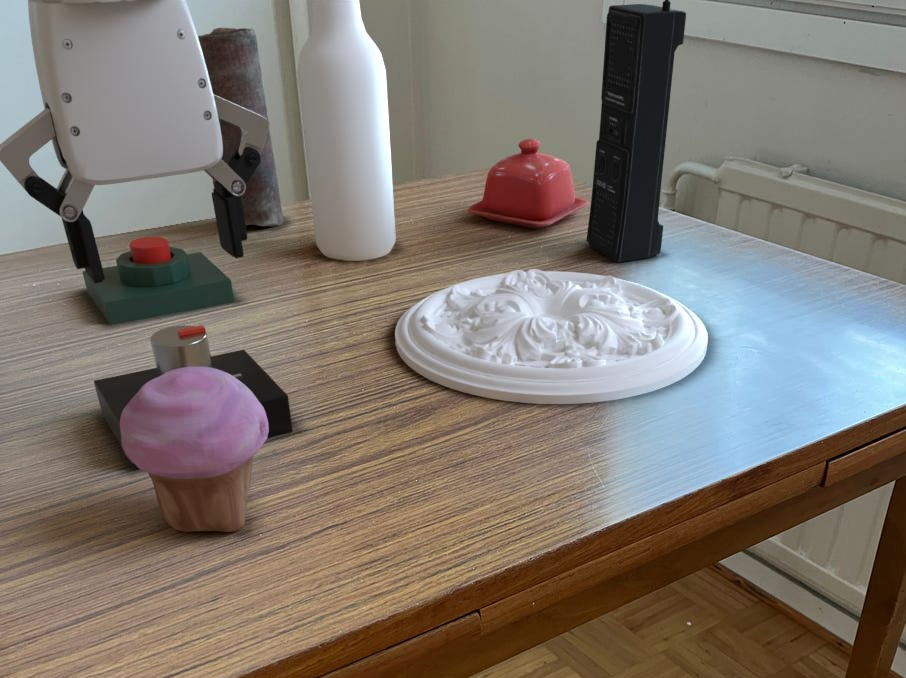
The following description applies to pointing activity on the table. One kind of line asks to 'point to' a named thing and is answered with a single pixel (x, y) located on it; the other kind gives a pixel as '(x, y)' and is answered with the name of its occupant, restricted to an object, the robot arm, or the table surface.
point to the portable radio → (633, 129)
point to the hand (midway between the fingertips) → (165, 264)
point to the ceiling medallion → (551, 338)
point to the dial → (180, 348)
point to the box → (159, 287)
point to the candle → (241, 83)
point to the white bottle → (346, 134)
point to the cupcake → (196, 445)
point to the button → (150, 250)
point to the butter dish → (528, 189)
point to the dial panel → (238, 364)
